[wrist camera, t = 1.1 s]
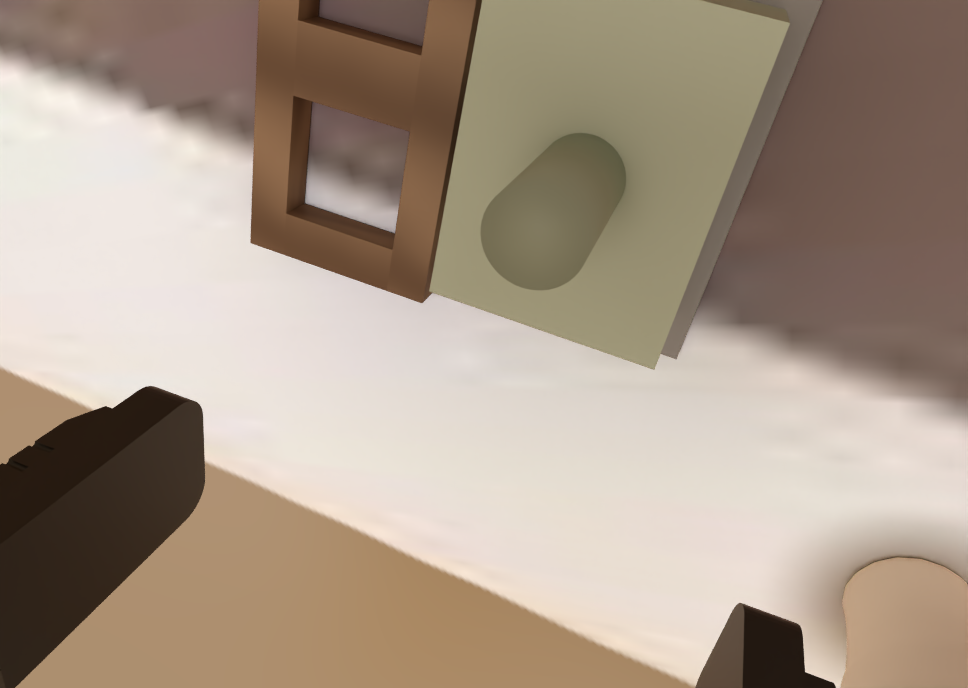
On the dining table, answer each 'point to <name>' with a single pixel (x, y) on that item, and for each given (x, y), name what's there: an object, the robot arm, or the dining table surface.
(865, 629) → the cup
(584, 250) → the green cover
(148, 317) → the dining table surface
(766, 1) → the grey mat
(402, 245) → the walnut frame
